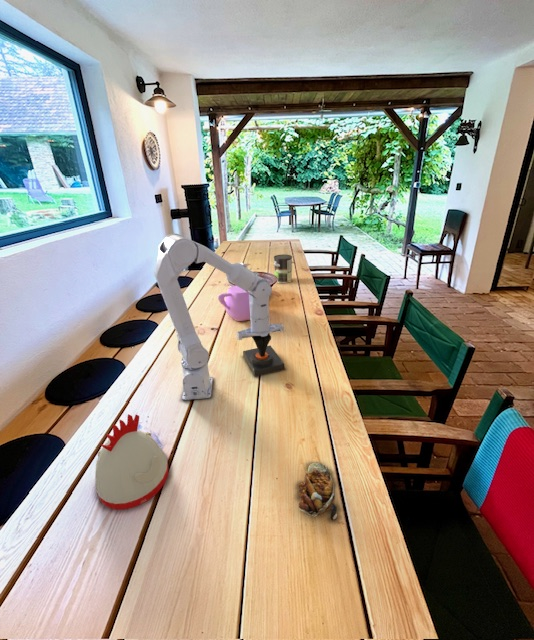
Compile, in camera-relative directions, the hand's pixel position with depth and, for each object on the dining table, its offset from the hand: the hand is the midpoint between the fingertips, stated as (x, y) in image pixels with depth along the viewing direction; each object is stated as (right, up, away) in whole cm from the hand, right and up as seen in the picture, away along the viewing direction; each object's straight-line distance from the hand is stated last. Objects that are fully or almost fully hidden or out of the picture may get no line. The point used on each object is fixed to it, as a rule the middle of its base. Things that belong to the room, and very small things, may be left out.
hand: (261, 354), depth 102 cm
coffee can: (+11, +34, +84) cm, 91 cm away
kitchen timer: (-26, -22, -35) cm, 49 cm away
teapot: (-7, +13, +40) cm, 43 cm away
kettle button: (0, -2, +1) cm, 2 cm away
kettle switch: (0, -3, +4) cm, 5 cm away
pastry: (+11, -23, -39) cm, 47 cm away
